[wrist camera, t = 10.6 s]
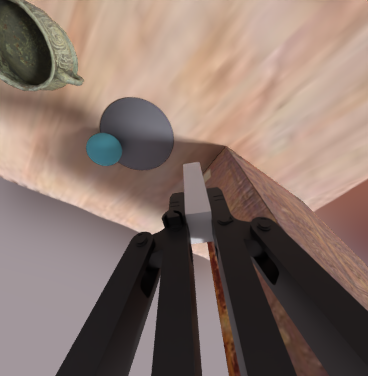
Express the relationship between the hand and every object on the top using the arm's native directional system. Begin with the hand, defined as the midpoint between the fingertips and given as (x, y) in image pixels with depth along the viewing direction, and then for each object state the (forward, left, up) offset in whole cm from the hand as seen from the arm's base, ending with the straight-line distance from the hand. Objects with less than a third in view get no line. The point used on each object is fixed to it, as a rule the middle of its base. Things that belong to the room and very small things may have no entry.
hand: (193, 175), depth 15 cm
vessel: (-13, -17, -17) cm, 28 cm away
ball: (0, -14, -14) cm, 20 cm away
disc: (0, -9, -16) cm, 19 cm away
